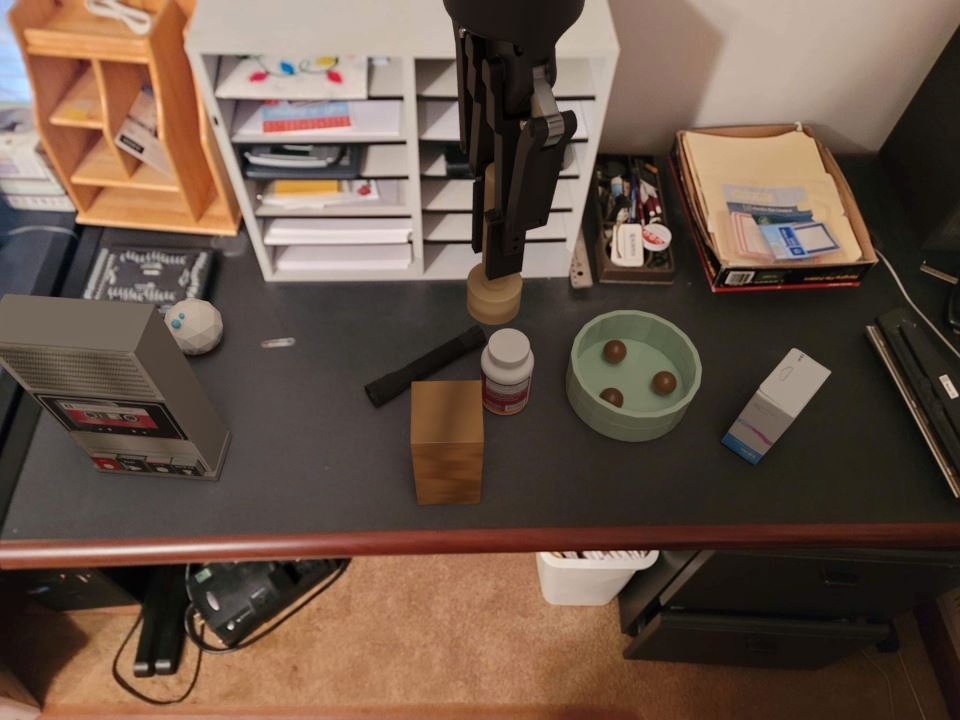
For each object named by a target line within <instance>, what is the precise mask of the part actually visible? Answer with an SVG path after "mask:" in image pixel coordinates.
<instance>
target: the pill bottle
mask: <svg viewBox="0 0 960 720" xmlns="http://www.w3.org/2000/svg"><path fill="white" fill-rule="evenodd" d="M534 369H535V357H534V353H533V351H532V349H531V344H530V340H529V338H528V337H527V336H526V335H525V334H524V333H523V332H522V331H520V330H518V329H515V328H510V327H509V328H501V329H498V330H497V331H495V332H494V333H493V334H491V336H490V337H489V340H488V342H487V345H486V346H485V347H484V348H483V350H482V353H481V357H480V373H479V374H480V375H479V380H481V386H482V405H483V406H484V407H485V408H486V409H487V410H489V411H490V412H492V413H494V414H496V415H499V416H511V415H514V414H517V413H519V412H520V411H522V410H523V409H524V408H525V406H526V405H527V404H528V402H529V399H530V395H531V394H530V393H531V388H532V387H531V386H532V380H533V374H534Z"/></svg>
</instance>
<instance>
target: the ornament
mask: <svg viewBox="0 0 960 720" xmlns="http://www.w3.org/2000/svg"><path fill="white" fill-rule="evenodd" d="M164 315H165V316H164V318H163V319H164V321H165V323H166V325H167V326H168V328H169V330H170V332H171V333H172V335H173V337H174V339H175V340H176V342H177V344H178V346H179V347H180V349H181V351H182V353H183V354H184V355H191V356H198V355H203V354H206V353H208V352H210V351H212V350H214V348H216V347H217V346H218V344H219V343H220V342H221V340H222V337H223V335H224V325H223V320H222V316H221V313H220V311H219V310H218V309H216V307H215V306H213V304H211V303H210V301H206V300H203V299H198V298H195V297H194V298H189V299H185V300H181V301H178V302H177V303H176V304H175V305H173V306H172V307H170V308H169V309H168V310H167V311H165V314H164Z"/></svg>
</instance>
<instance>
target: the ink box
mask: <svg viewBox="0 0 960 720" xmlns="http://www.w3.org/2000/svg"><path fill="white" fill-rule="evenodd" d="M772 370H773V371H771V373H769V375H768V376H767V377H766V378H765V379H764V381H763V382H762V383H761V384H760V385H759V388H757V390H756V392H755V393H754V395H752V397H751V398H750V399H749V401H748V402H747V404H746V405H745V407H744V408H743V409H742V410H741V412H740V414H739V415H738V417H736V419H735V421H734V422H733V423H732V425H731V426H730V427H729V429H728V430H727V432H726V433H725V435H724V436H723V437H722V439H721V440H720V441H721V444H723V445H724V446H726V447H727V448H729V449H730V450H731V451H732V452H735V453H736V455H738V456H740V457H742V458H743V459H744V460H746V461H747V462H748V463H750V464H752V465H753V466H755V465H756V464H757V463H758V462H759V461H760V460H761V458H763V457H764V456H765V455H766V454H767V452H768V451H769V450H770V449H771V447H772V446H773V445H774V444H775V443H776V442H777V441H778V440H779V438H780V437H781V436H782V435H783V434H784V433H785V432H786V431H787V429H789V427H790V426H791V425H792V424H793V422H795V419H796V418H797V417H798V416H799V414H800V413H801V412H802V411H803V410H804V408H805V407H806V406H807V405H808V403H810V401H811V400H812V398H813V397H814V396H815V394H817V392H818V391H819V390H820V388H821V386H822V385H823V384H824V383H825V381H826V380H828V378H829V376H830V375H831V374H832V371H831V370H830V369H828V368H827V367H826V366H824V365H822V364H821V363H820V362H817V361H816V360H814V359H813V358H811V357H810V356H809V355H808V354H806V353H805V352H803V351H801V350H799V349H798V348H795V347H792V348H791V349H790V350H789V351H788V352H787V353H786V355H785V356H784V357H783V358H782V360H781V361H780V362H779V364H778V365H777V366H775V368H774V369H772Z"/></svg>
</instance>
